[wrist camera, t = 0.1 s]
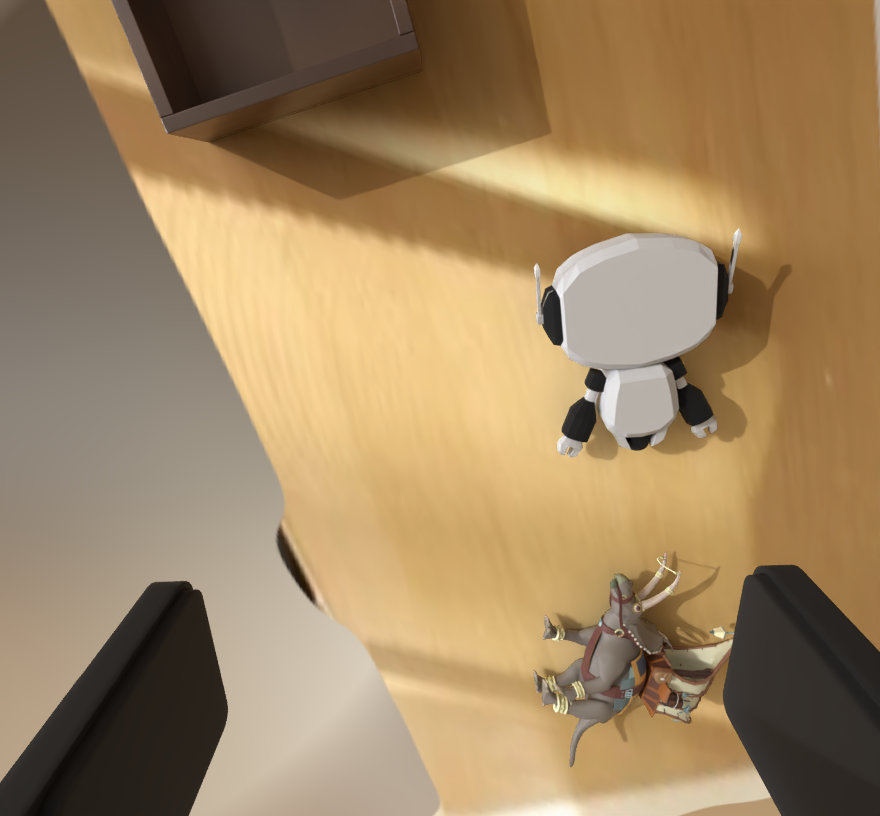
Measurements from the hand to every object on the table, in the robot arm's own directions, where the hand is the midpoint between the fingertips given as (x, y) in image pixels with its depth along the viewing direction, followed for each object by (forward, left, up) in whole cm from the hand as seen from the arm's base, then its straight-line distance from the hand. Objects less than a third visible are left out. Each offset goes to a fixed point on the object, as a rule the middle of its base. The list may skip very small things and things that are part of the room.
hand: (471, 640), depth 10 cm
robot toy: (+3, +12, -31) cm, 34 cm away
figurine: (+30, +15, -31) cm, 46 cm away
